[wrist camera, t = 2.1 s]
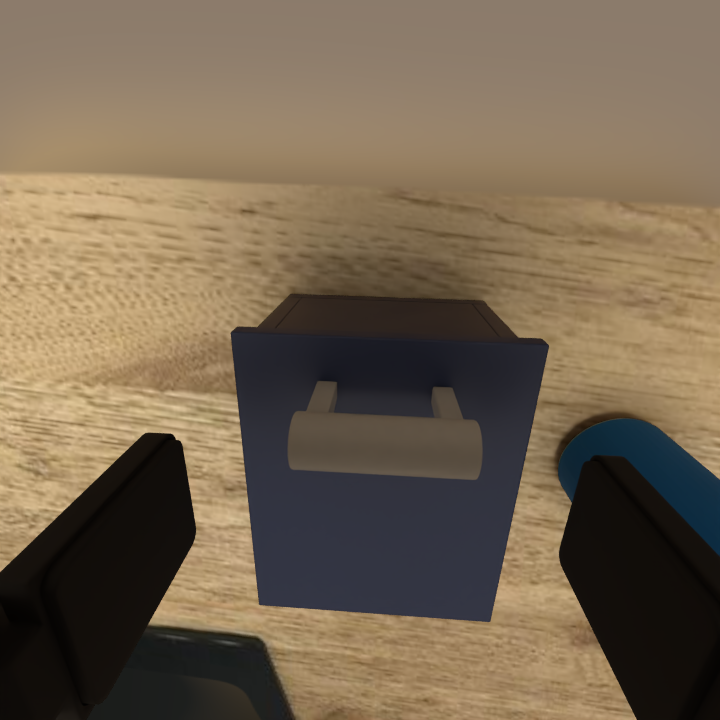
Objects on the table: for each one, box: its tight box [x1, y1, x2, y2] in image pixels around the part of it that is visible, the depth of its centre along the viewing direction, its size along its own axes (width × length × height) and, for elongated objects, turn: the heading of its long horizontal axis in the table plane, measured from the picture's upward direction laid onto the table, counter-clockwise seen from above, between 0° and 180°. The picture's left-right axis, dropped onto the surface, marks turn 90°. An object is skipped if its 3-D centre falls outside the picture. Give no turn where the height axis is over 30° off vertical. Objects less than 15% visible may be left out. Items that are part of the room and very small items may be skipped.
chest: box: [258, 294, 518, 338], centre depth 20 cm, size 13×11×8 cm
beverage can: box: [558, 418, 720, 556], centre depth 19 cm, size 6×6×12 cm
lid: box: [231, 327, 549, 622], centre depth 14 cm, size 13×11×5 cm
